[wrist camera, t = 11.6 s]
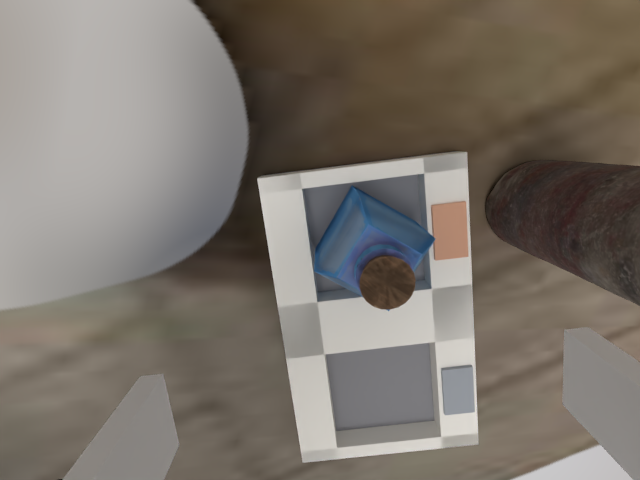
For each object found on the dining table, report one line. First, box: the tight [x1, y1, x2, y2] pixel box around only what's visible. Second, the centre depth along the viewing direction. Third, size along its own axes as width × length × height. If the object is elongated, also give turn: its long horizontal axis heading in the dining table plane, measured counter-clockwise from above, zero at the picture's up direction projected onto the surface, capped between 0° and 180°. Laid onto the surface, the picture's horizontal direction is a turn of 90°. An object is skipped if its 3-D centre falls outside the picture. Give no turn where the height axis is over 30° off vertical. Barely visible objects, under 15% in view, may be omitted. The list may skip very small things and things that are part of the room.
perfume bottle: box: [314, 185, 436, 311], centre depth 29 cm, size 6×6×12 cm
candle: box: [486, 160, 640, 306], centre depth 25 cm, size 8×7×20 cm
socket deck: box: [257, 151, 478, 463], centre depth 35 cm, size 26×16×3 cm, turn 7°
